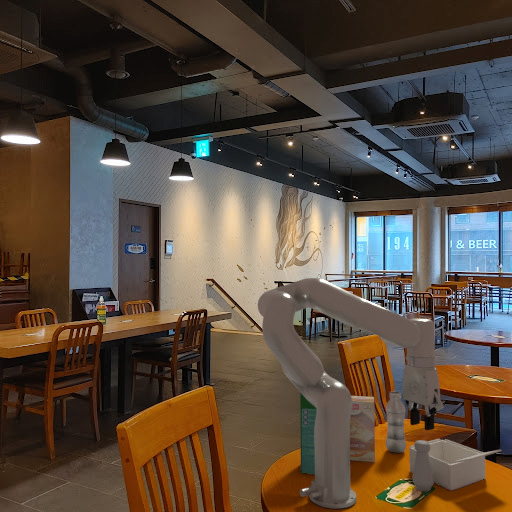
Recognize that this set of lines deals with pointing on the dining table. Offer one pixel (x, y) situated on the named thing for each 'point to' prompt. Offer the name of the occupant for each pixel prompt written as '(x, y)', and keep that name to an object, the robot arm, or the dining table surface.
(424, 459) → the salt shaker
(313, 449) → the milk carton
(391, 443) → the plastic bottle
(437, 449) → the carton
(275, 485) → the dining table surface
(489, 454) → the flap
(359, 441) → the coffeecake box
